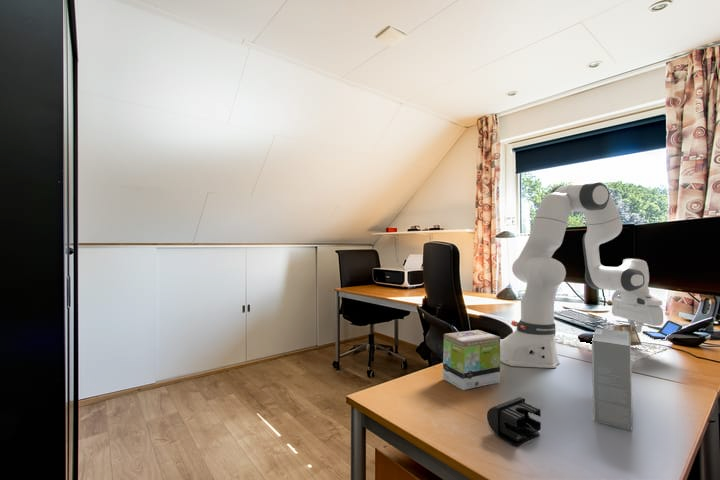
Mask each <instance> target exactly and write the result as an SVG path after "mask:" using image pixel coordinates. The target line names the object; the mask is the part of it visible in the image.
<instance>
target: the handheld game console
mask: <svg viewBox="0 0 720 480" xmlns="http://www.w3.org/2000/svg"><path fill="white" fill-rule="evenodd" d="M682 329H683V325H681V324H679V323H677V322H674V321H672V320H666V322H665V323H664V325H663V326H662V327H661V328H660V330H658V331H646V330H643V331H642V330H641V332H642V334H643V333H644V335H645V334H646V335H645V336H647V335H648V336H647V337H649V336H650V337H649V338H651V337H652V338H654V339H653V340H655V339H665V337H666V336H667V335H669V334H672V333H674V332H675V331H678V330H680V331H681V330H682ZM652 338H651V339H652Z"/></svg>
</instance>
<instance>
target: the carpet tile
mask: <svg viewBox="0 0 720 480" xmlns="http://www.w3.org/2000/svg"><path fill="white" fill-rule="evenodd" d="M570 328H571V329H574V328H573V327H570ZM560 329H561V328H559V329H558V330H560ZM575 329H576V328H575ZM558 330H556V333H555V336H556V338H557V339H559V340H555V344H556V343H557V344H561V345H564V346H568V347H572V348H577V349H580V350H585V351H588V352H592V344H590V343H586V342H580V341H579V340H577V339H578V336H577V335H572V334H567V333H563V332H558ZM576 330H578V329H576ZM572 331H575V330H572ZM557 335H560V336H559V337H560V338H561V337H562V335H564V336H566V337H569V338H570V339H572V338H574V340H566V339H562V338H561V339H562V340H561V339H560V338H558V337H557ZM566 337H564V338H566ZM556 338H555V339H556ZM641 344H643V345H644V346H646V347H647V348H648V350H647V349H639V348H637V347H635V348H634V347H631V363H632V362H633V363H634V362H636V361H638V360H642V359H644V358H648V357H651V356H654V355H656V354H659V353H660V352H661V353H662V352H664V351H666V350H667V347H665V346H661V345H659V344H654V343H653V344H652V343H647V342H643V341H641ZM638 346H639V345H638Z"/></svg>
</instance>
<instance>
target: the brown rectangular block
mask: <svg viewBox="0 0 720 480" xmlns="http://www.w3.org/2000/svg"><path fill="white" fill-rule="evenodd" d="M613 330H618V331H626V332H629V333H630V340H631V346H636V345H642V344H641V342H642V341H641V339H640V336H639V334H638V333H639V332H634V331H631V326H630V325H629V324H618V325H614V326H613Z"/></svg>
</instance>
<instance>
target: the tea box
mask: <svg viewBox="0 0 720 480" xmlns="http://www.w3.org/2000/svg"><path fill="white" fill-rule="evenodd" d="M500 346H501V336H498V335H495V334H492V333H489V332H486V331H483V330H479V329H474V330H467V331H466V330H465V331H457V332H449V333H443V349H442V351H443V354H442V355H443V358H442V379H443V380H445V381H446V382H447V383H449V384H451V385H453V386H454V387H456V388H459V389H460V390H461V391H467V390H471V389H474V388H480V387H485V386H489V385H495V384H498V383H500V381H501V361H500Z"/></svg>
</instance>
